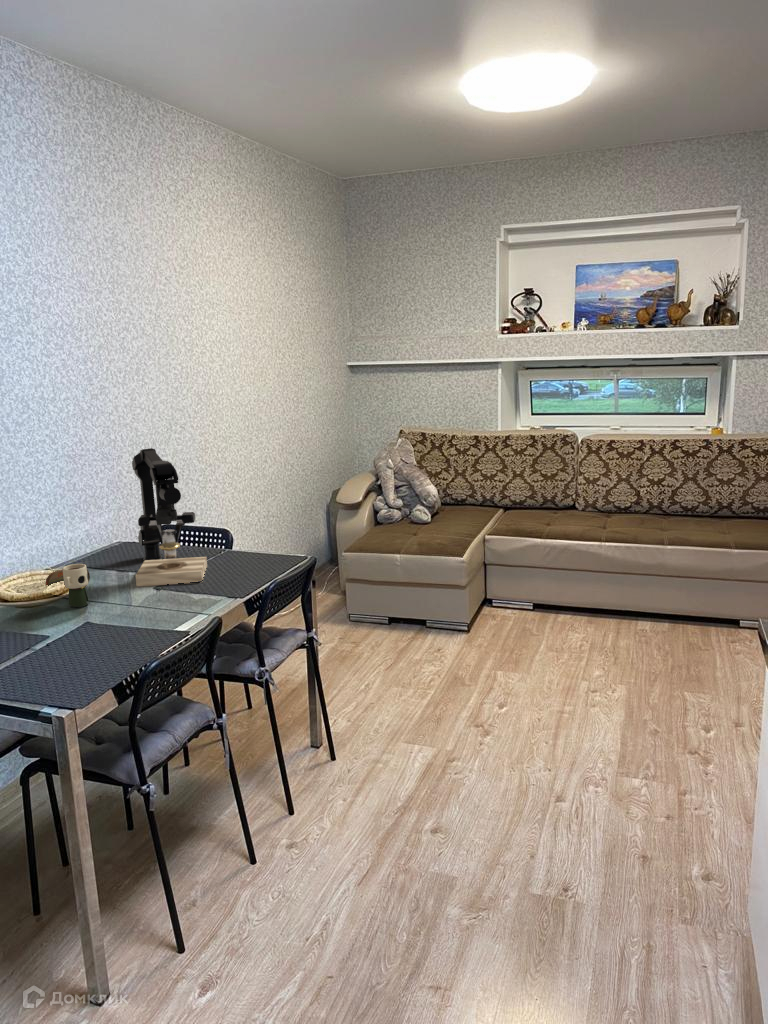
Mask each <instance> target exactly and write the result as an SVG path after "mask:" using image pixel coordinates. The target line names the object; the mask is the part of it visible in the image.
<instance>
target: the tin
mask: <svg viewBox="0 0 768 1024" xmlns="http://www.w3.org/2000/svg"><path fill="white" fill-rule="evenodd" d="M87 579H88V584H89V583H90V579H91V576H90V572H89V570H88V569H87ZM60 581H64V577H63V568H62V569H59V570H56V571H53V572H51V573H49V574H48V576H47V577H46V579H45V586H46V585H48V586H49V585H51V584H53V583H57V582H60ZM85 588H87V586H85Z"/></svg>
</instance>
